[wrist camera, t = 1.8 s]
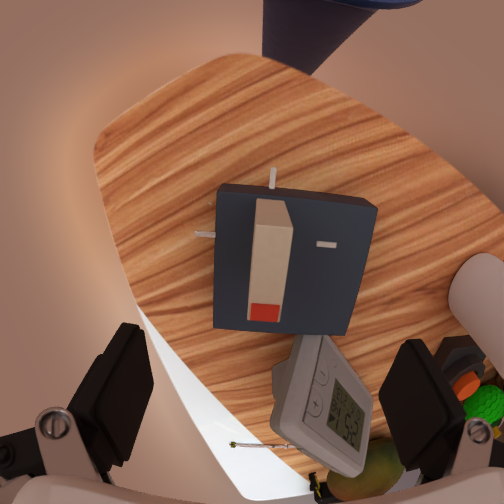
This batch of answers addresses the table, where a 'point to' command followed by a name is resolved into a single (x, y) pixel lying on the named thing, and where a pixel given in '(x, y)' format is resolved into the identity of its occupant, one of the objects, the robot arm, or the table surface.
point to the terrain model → (503, 436)
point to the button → (466, 385)
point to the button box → (460, 358)
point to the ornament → (486, 406)
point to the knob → (269, 260)
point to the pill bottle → (481, 304)
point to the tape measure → (322, 491)
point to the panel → (292, 258)
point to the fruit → (369, 473)
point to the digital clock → (322, 405)
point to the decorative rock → (500, 382)
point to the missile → (261, 445)
